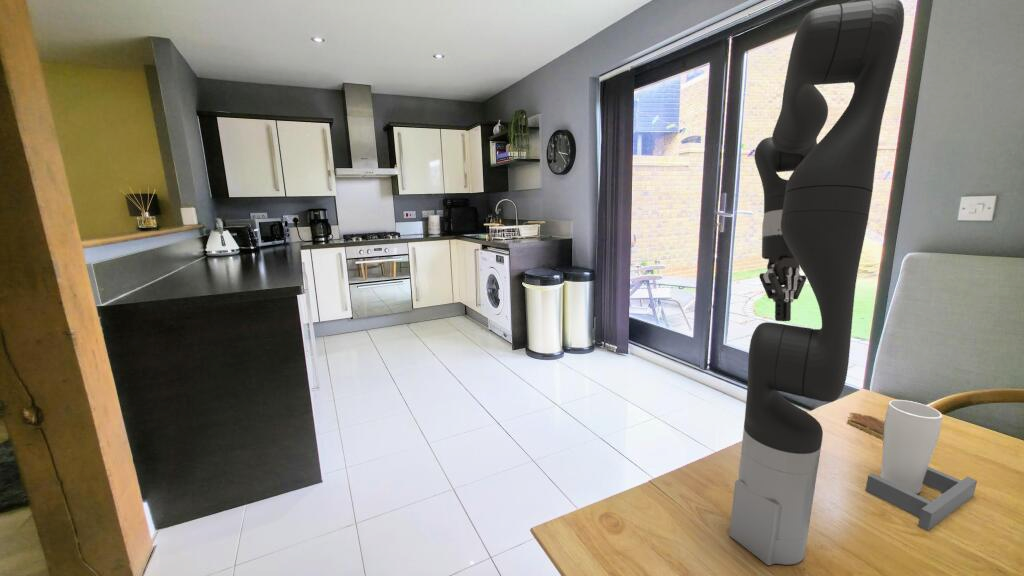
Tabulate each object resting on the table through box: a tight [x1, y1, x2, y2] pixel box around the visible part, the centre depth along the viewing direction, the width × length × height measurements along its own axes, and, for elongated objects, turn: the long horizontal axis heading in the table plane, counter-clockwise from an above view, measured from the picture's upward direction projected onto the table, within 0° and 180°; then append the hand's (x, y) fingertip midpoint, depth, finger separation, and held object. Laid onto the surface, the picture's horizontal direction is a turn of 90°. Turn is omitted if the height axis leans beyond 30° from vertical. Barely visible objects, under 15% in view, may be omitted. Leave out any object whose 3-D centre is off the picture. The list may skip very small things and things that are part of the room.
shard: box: [846, 412, 885, 441], centre depth 90 cm, size 11×8×2 cm
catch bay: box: [864, 466, 978, 531], centre depth 70 cm, size 17×9×3 cm, turn 116°
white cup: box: [879, 399, 943, 495], centre depth 71 cm, size 7×7×15 cm
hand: (782, 320), depth 82 cm, fingers closed
